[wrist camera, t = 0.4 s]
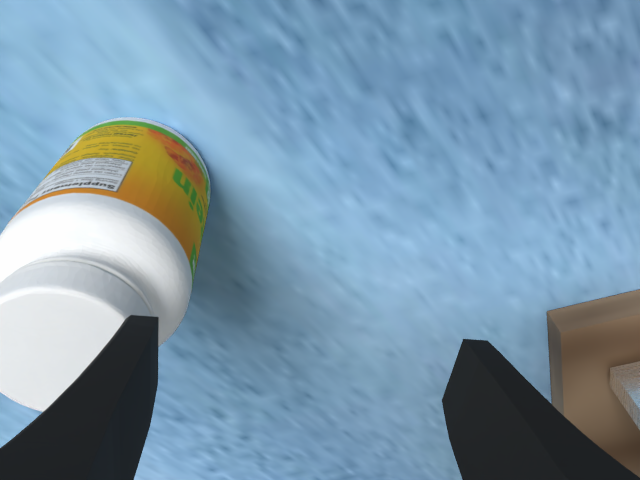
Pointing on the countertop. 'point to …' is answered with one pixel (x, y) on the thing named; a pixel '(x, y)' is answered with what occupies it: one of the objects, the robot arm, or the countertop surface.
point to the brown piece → (596, 370)
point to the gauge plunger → (627, 388)
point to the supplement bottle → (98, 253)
